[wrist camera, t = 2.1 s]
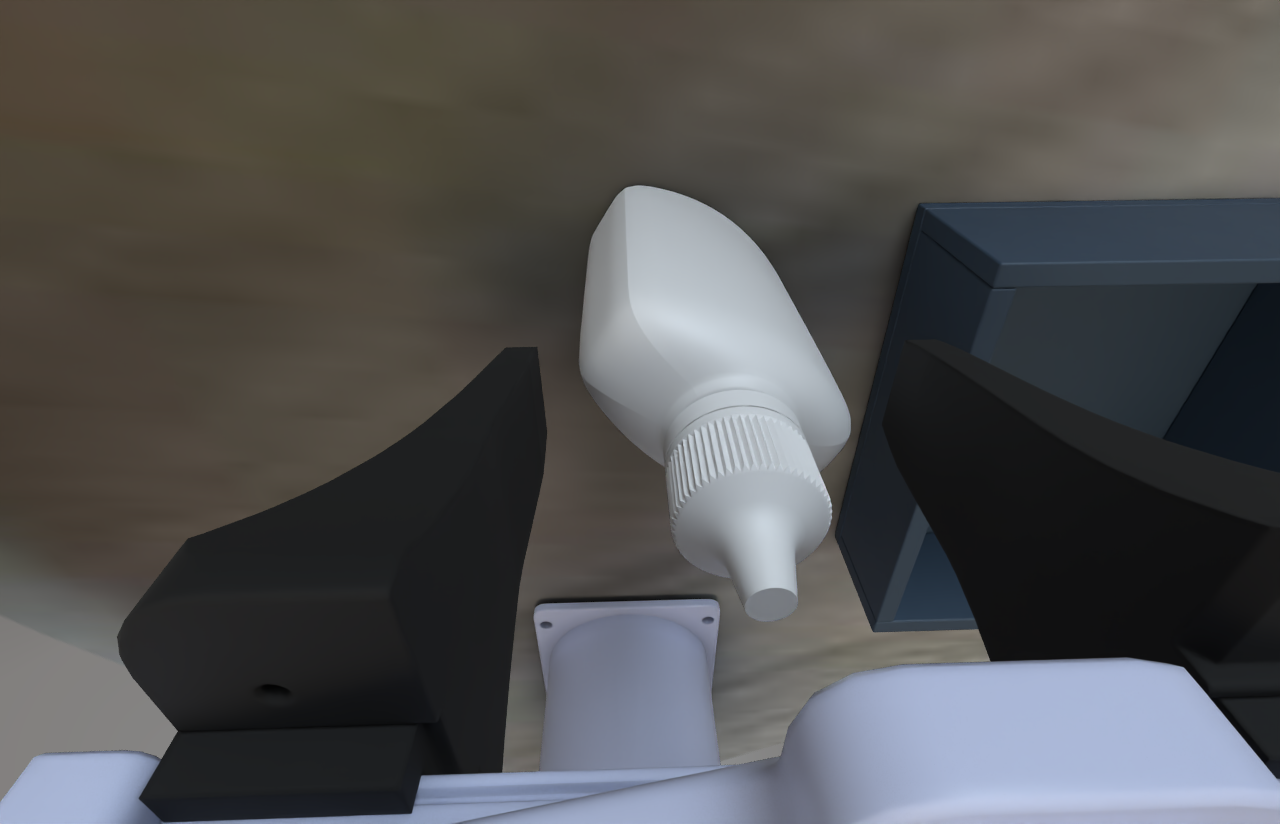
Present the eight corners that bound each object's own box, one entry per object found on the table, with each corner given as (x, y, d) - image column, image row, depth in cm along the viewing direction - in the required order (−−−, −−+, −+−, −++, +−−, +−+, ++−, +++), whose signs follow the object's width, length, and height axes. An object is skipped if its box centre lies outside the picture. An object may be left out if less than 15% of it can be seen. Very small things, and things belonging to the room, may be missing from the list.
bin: (1107, 528, 25) (1193, 623, 21) (834, 536, 25) (872, 633, 21) (1310, 197, 17) (1498, 254, 14) (917, 203, 17) (1001, 263, 13)
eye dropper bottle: (663, 365, 20) (708, 742, 10) (571, 213, 17) (507, 532, 7) (790, 306, 19) (981, 663, 9) (715, 131, 16) (875, 375, 6)
